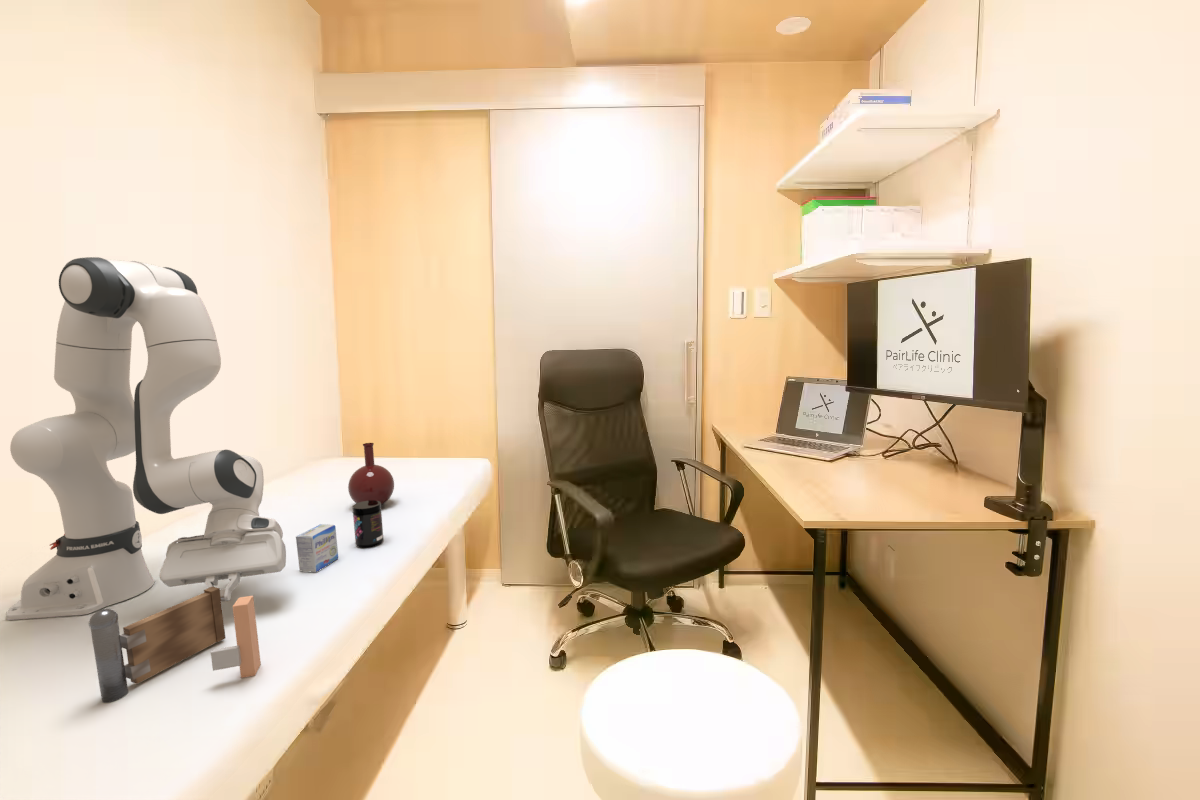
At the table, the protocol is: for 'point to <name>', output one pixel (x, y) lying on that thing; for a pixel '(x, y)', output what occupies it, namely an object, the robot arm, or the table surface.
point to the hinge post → (108, 655)
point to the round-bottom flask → (370, 480)
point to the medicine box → (317, 547)
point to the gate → (173, 635)
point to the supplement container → (368, 523)
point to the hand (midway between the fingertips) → (219, 600)
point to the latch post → (241, 641)
